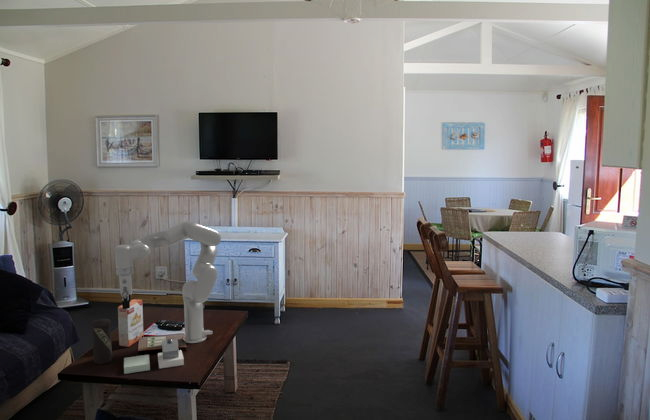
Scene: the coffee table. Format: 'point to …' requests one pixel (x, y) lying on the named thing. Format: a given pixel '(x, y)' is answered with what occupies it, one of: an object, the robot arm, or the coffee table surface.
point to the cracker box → (130, 323)
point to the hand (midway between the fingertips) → (126, 305)
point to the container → (101, 341)
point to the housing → (170, 348)
